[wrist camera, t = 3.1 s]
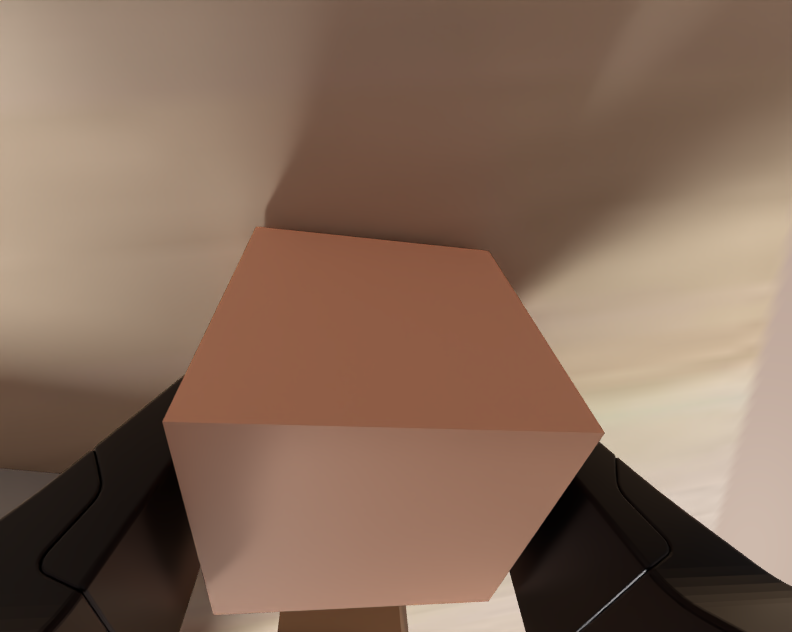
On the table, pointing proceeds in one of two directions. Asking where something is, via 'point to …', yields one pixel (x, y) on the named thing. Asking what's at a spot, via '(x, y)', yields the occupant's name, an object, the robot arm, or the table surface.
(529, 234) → the table surface
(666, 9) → the table surface
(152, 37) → the table surface
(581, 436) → the terracotta cube
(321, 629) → the walnut cube
